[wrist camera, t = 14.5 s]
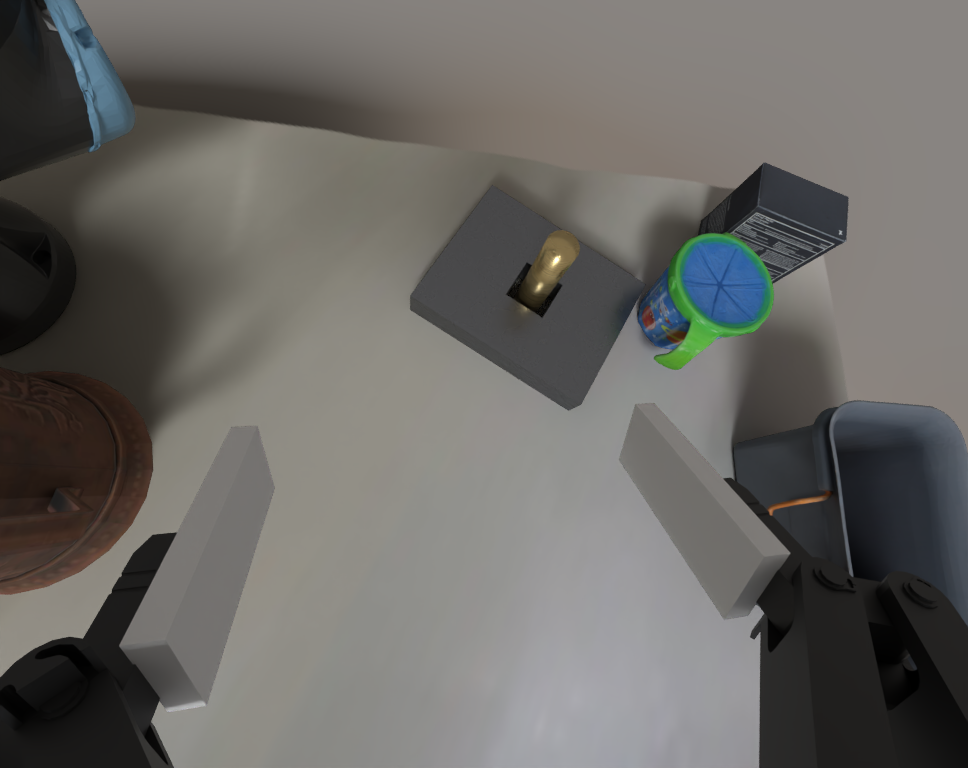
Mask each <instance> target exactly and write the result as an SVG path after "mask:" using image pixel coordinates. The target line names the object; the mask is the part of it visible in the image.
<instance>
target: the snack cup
mask: <svg viewBox="0 0 968 768" xmlns="http://www.w3.org/2000/svg"><path fill="white" fill-rule="evenodd" d="M773 300H774V291H773V284H772V280H771V277H770V274H769V272H768V270H767V268H766V266H765V265H764V263H763V262H762V260H761V259H760V257H759V256H758V255H757V254H756V253H755V252H754V251H753V250H752V249H751V248H750V247H748V246H747V245H746V243H745V242H743V241H742V240H740V239H739V238H737V237H735V236H733V235H731V234H729V233H727V232H725V233H723V234H716V233H709V234H702V235H699V236H697V237H694V238H690V239H689V240H687V241H686V242H685V243H684V244H683V245H682V247H681V248H680V249H679V250H678V251H677V252H676V254H675V255H674V257H673V258H672V260H671V263H670V266H669V267H668V268H667V269H666V270H665V271H664V273H663V274H662V275H661V276H660V278H659V279H658V280H657V282H656V283H655V284H654V285H653V287H652V288H651V289H650V290H649V292H648V293H647V294H646V296H645V297H644V299H643V300H642V302H641V305H640V309H639V315H638V322H639V324H640V325H641V327H642V329H643V331H644V333H645V334H646V336H647V337H648V338H649V339H650V340H651V341H652V342H653V343H654V344H655V346H658V347H661V348H666V349H673V350H672V351H670V352H669V353H667V354H660V355H656V356H655V357H654V360H656V361H657V362H658V363H659V364H662V365H663V366H665V367H667V368H670V369H674V370H678V369H681V368H682V367H683V366H684V365H685V364H686V363H688V362H689V361H690V360H691V359H692V358H694V357H695V356H696V355H697V354H699V353H700V352H702V351H703V350H704V349H705V348H706V347H708V346H709V345H710V344H711V343H712V342H713V341H714V340H715V339H719V338H722V337H735V336H740V335H742V334H748V333H752V332H754V331H755V330H757V329H758V328H759V327H760V325H761V324H762V323H763V322H764V321H765V320H766V318H767V317H768V316H769V314H770V311H771V309H772V305H773Z"/></svg>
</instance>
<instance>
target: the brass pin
mask: <svg viewBox="0 0 968 768" xmlns="http://www.w3.org/2000/svg"><path fill="white" fill-rule="evenodd" d="M579 252H580V245H579V242H578V240H577V239H576V237H575V236H574V235H572V234H571V233H569V232H567V231H563V230H558V231H554V232H552V233H551V234H550V235H549V236H548V238H547V240H546V241H545V243H544V245H543V247H542V248H541V250H540V252H539V254H538V256H537V257H536V259H535V261H534V263H533V265H532V266H531V268H530V270H529V272H528V273H527V275H526V277H525V279H524V281H523V282H522V284H521V286H520V288H519V289H518V291H517V293H516V295H515V297H514V300H516V301H517V302H519V303H520V304H522V305H523V306H525V307H526V308H528V309H530V310H531V311H533V312H534V313H536V312H537V310H538V309H539V308H540V306H541V305H542V304H543V302H544V301H545V300H546V298H547V297H548V295H549V294H550V293H551V291H552V290H553V289H554V287H555V286H556V285H557V283H558V282H559V281H560V279H561V278H562V277H563V275H564V274H565V272H566V271H567V270H568V268H569V267H570V266H571V264H572V263H573V262H574V260H575V259H576V258H577V256H578V254H579Z"/></svg>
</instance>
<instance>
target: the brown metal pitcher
mask: <svg viewBox="0 0 968 768" xmlns="http://www.w3.org/2000/svg"><path fill="white" fill-rule="evenodd" d="M152 472H153V456H152V442H151V439H150V436H149V433H148V431H147V428H146V425H145V422H144V420H143V418H142V417H141V415H140V414H139V413H138V411H137V410H136V409H135V408H134V406H133V405H132V404H131V403H130V401H129V400H128V399H127V398H126V397H125V396H123V395H122V394H120V393H119V392H117V391H116V390H114V389H113V388H112V387H110V386H109V385H107V384H106V383H103V382H100V381H98V380H95V379H92V378H89V377H86V376H83V375H80V374H75V373H64V372H53V371H44V372H36V373H28V374H22V373H18V372H15V371H11V370H8V369H4V368H1V367H0V594H10V595H11V594H16V593H21V592H25V591H30V590H35V589H39V588H44V587H48V586H50V585H52V584H54V583H56V582H59V581H61V580H63V579H65V578H67V577H70V576H72V575H74V574H76V573H79V572H80V571H82V570H83V569H85V568H86V567H87V566H89V565H90V564H91V563H93V562H94V561H95V560H97V559H98V558H100V557H101V556H102V555H104V554H105V553H106V552H108V551H109V550H110V549H111V548H112V546H113V545H114V544H115V543H116V542H117V541H118V540H119V539H120V537H121V536H122V535H123V534H124V533H125V532H126V531H127V530H128V528H129V527H130V526H131V525H132V523H133V521H134V519H135V517H136V516H137V514H138V512H139V510H140V508H141V506H142V504H143V503H144V501H145V499H146V496H147V492H148V488H149V484H150V480H151V476H152Z"/></svg>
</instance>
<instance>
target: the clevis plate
mask: <svg viewBox="0 0 968 768" xmlns="http://www.w3.org/2000/svg"><path fill="white" fill-rule="evenodd" d="M558 230H561V229H560V228H558V227H556V226H555V225H553V224H552V223H550V222H549V221H547V220H546V219H544V218H543V217H541V216H540V215H538V214H536V213H535V212H533V211H532V210H530V209H529V208H527V207H526V206H524V205H523V204H521V203H519V202H518V201H516V200H515V199H513V198H512V197H510V196H509V195H507V194H506V193H504V192H502V191H501V190H499V189H498V188H496V187H495V186H493V185H492V186H491V188H490V189H489V190H488V192H487V193H486V194H485V196H484V197H483V198H482V200H481V201H480V202H479V204H478V205H477V206H476V208H475V209H474V210H473V212H472V213H471V215H470V216H469V217H468V219H467V220H466V221H465V223H464V224H463V225H462V227H461V228H460V229H459V231H458V232H457V233H456V235H455V236H454V237H453V239H452V240H451V242H450V243H449V244H448V246H447V247H446V248H445V250H444V251H443V252H442V254H441V255H440V256H439V258H438V259H437V260H436V262H435V263H434V264H433V266H432V267H431V269H430V270H429V271H428V273H427V274H426V275H425V277H424V278H423V279H422V281H421V282H420V283H419V285H418V286H417V287H416V289H415V290H414V291H413V293H412V294H411V296H410V310H411V311H413V312H415V313H416V314H418V315H419V316H421V317H422V318H424V319H426V320H427V321H429V322H430V323H432V324H433V325H435V326H437V327H438V328H440V329H441V330H443V331H444V332H446V333H448V334H449V335H451V336H452V337H454V338H455V339H457V340H459V341H460V342H462V343H463V344H465V345H466V346H468V347H470V348H471V349H473V350H474V351H476V352H477V353H479V354H481V355H482V356H484V357H485V358H487V359H488V360H490V361H492V362H493V363H495V364H496V365H498V366H499V367H501V368H502V369H504V370H506V371H507V372H509V373H510V374H512V375H513V376H515V377H517V378H518V379H520V380H521V381H523V382H524V383H526V384H528V385H529V386H531V387H532V388H534V389H535V390H537V391H539V392H540V393H542V394H543V395H545V396H546V397H548V398H550V399H551V400H553V401H554V402H556V403H557V404H559V405H561V406H562V407H564V408H565V409H567V410H571V409H573V408H575V407H577V406H579V405H581V404H582V402H583V400H584V398H585V396H586V395H587V393H588V391H589V389H590V387H591V385H592V383H593V382H594V380H595V378H596V376H597V374H598V372H599V370H600V369H601V367H602V365H603V363H604V361H605V359H606V357H607V356H608V354H609V352H610V350H611V348H612V346H613V344H614V342H615V341H616V339H617V337H618V335H619V333H620V331H621V329H622V328H623V326H624V324H625V322H626V320H627V318H628V316H629V315H630V313H631V311H632V309H633V307H634V305H635V303H636V302H637V300H638V298H639V296H640V294H641V292H642V290H643V289H644V287H645V285H646V284H644V283H643V282H641V281H640V280H638V279H637V278H635V277H634V276H632V275H631V274H629V273H628V272H626V271H624V270H623V269H621V268H620V267H618V266H617V265H615V264H614V263H612V262H611V261H609V260H607V259H606V258H604V257H603V256H601V255H600V254H598V253H597V252H595V251H594V250H592V249H590V248H589V247H587V246H586V245H584V244H583V243H581V242H580V241H578V242H579V245H580V252H579V254H578V256H577V258H576V259H575V260H574V262H573V263H572V264H571V266H570V267H569V268H568V270H567V271H566V272H565V274H564V275H563V277H562V278H561V279H560V281H559V282H558V283H557V285H556V286H555V287H554V289H553V290H552V291H551V293H550V294H549V295H548V297H549V298H551V299H552V300H551V302H550V303H549V305H548V306H547V308H546V310H545V311H544V313H543V315H542V316H541V317H540V316H539V315H537V314H536V313H534V312H533V311H531V310H530V309H528V308H526V307H525V306H523V305H522V304H520V303H519V302H517V301H516V300H514V299H512V298H511V297H509V296H508V293H509V292H510V290H511V289H512V287H513V286H514V284H515V283H516V281H517V279H518V278H520V279H522V280H523V281H524V279H525V277H526V275H527V273H528V272H529V270H530V268H531V266H532V265H533V263H534V261H535V259H536V257H537V256H538V254H539V252H540V250H541V248H542V247H543V245H544V243H545V241H546V240H547V238H548V236H549V235H550V234H551V233H552V232H554V231H558Z"/></svg>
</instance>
